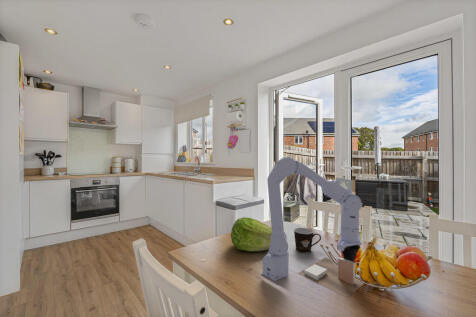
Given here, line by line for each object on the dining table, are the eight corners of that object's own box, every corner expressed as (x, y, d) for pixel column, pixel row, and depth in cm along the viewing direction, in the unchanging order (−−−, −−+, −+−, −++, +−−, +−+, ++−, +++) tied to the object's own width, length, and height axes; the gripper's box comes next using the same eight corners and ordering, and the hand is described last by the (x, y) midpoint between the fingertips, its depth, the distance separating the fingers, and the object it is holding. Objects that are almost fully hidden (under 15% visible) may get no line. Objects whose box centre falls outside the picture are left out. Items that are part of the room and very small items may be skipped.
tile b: (352, 284, 72) (353, 264, 72) (338, 278, 76) (338, 258, 76) (354, 283, 74) (355, 262, 73) (340, 276, 77) (340, 257, 77)
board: (348, 301, 66) (348, 297, 66) (297, 276, 80) (297, 273, 80) (372, 278, 78) (372, 275, 78) (325, 260, 92) (325, 257, 92)
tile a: (327, 273, 79) (316, 280, 75) (314, 268, 83) (304, 274, 79) (327, 269, 79) (317, 275, 75) (314, 264, 83) (304, 270, 79)
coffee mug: (291, 253, 98) (292, 232, 98) (295, 246, 106) (296, 226, 106) (319, 259, 93) (319, 236, 93) (321, 251, 101) (321, 230, 100)
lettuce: (278, 262, 91) (283, 228, 93) (224, 248, 99) (230, 216, 100) (281, 252, 108) (285, 223, 109) (235, 240, 115) (239, 213, 116)
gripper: (352, 234, 69) (352, 277, 69) (369, 225, 78) (369, 263, 78) (331, 228, 74) (330, 268, 74) (349, 221, 83) (349, 256, 83)
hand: (349, 265), depth 76 cm, fingers closed
